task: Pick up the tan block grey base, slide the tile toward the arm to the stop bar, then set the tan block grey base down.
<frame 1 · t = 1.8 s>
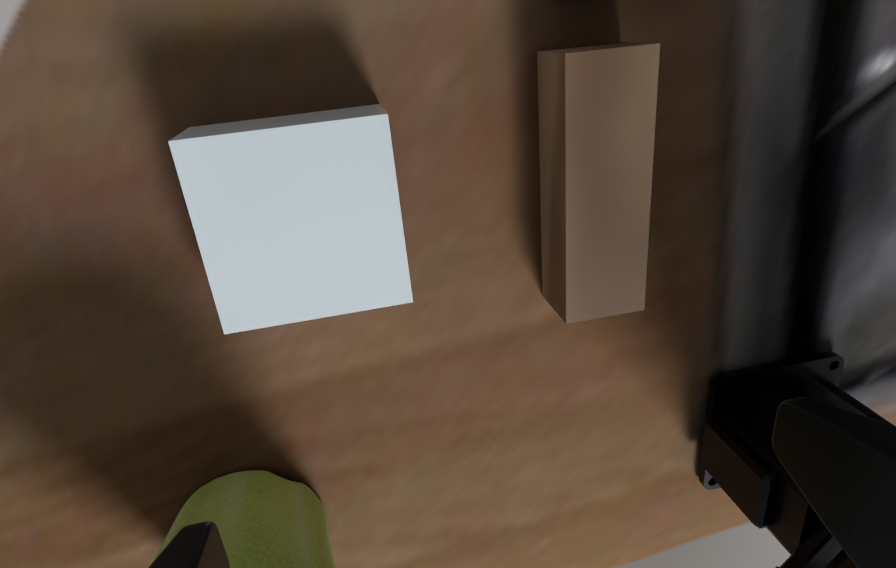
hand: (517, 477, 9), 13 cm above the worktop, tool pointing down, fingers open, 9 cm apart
stop bar: (578, 178, 21), on the worktop
plant pot: (253, 519, 25), on the worktop
tile: (305, 203, 20), on the worktop
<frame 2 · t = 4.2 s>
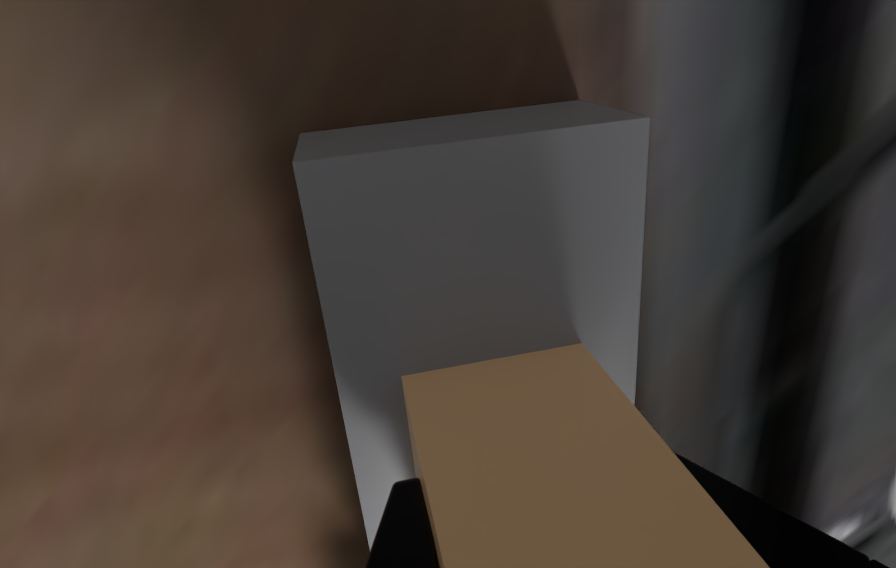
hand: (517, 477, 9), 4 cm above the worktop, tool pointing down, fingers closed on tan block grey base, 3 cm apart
tan block grey base: (466, 360, 12), on the worktop, touching gripper
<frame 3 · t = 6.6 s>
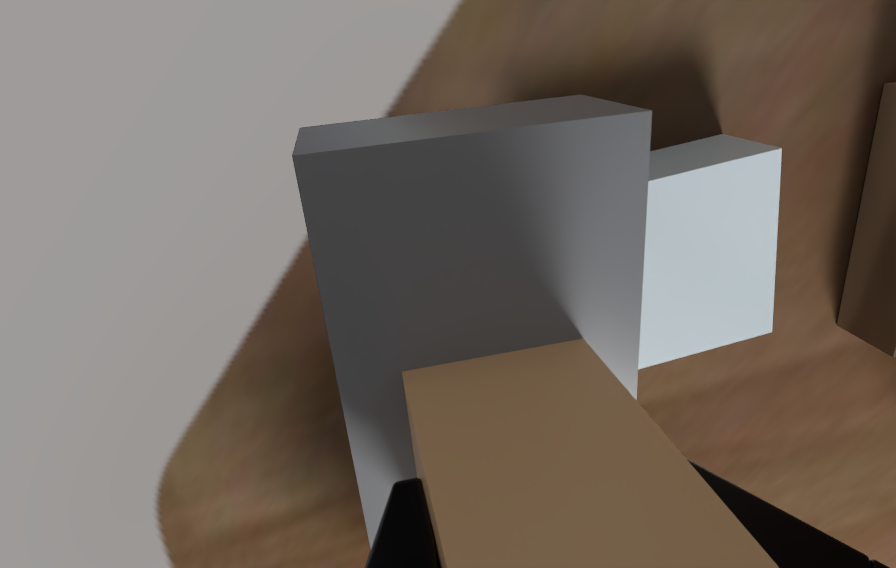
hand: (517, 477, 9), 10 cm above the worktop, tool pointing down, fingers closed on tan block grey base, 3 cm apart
stop bar: (895, 208, 21), on the worktop
tile: (635, 239, 20), on the worktop
tan block grey base: (467, 356, 12), point 7 cm above the worktop, touching gripper
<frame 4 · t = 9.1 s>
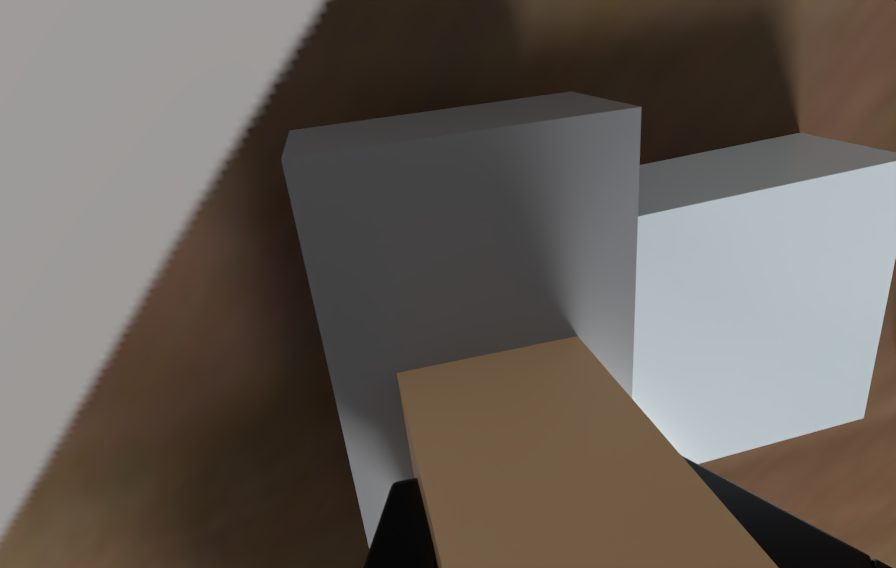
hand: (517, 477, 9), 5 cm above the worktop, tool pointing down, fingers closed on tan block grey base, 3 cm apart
tile: (671, 277, 14), on the worktop
tan block grey base: (462, 355, 12), point 1 cm above the worktop, touching gripper
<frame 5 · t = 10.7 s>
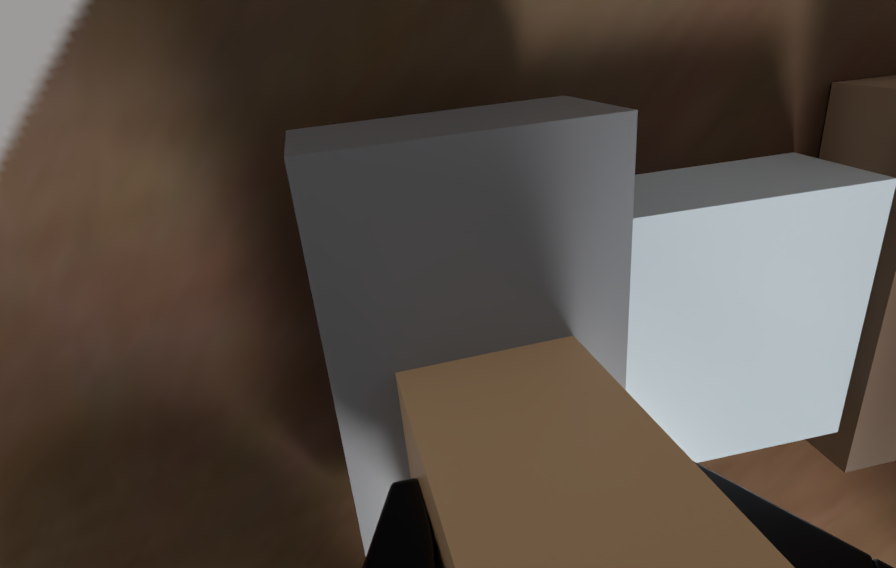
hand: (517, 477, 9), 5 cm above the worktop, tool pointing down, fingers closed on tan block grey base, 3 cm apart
stop bar: (851, 259, 15), on the worktop
tile: (658, 284, 14), on the worktop
tan block grey base: (455, 357, 12), point 1 cm above the worktop, touching gripper
when the fingers open (5 cm above the worktop, at t = 14.0 s): tan block grey base drops 2 cm, on the worktop.
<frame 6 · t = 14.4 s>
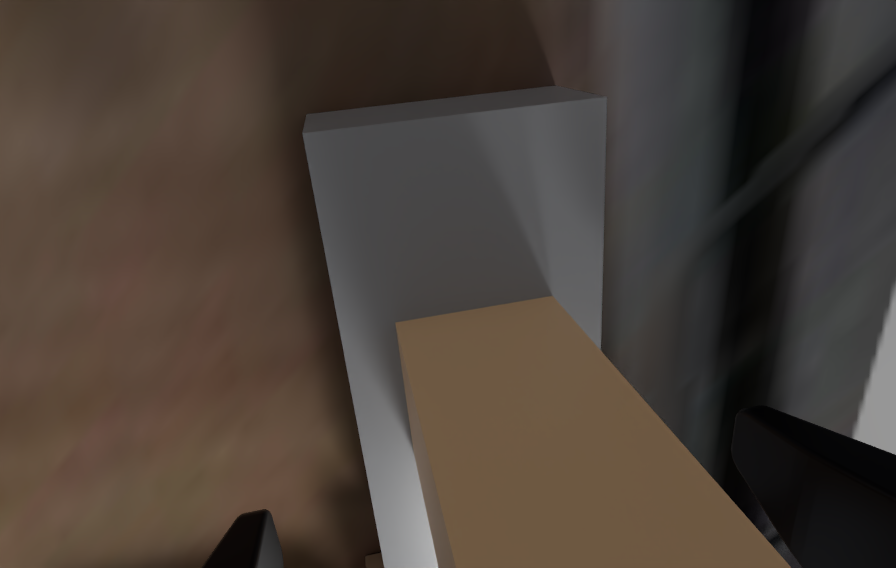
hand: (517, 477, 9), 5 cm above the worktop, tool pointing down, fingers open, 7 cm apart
tan block grey base: (454, 320, 14), on the worktop
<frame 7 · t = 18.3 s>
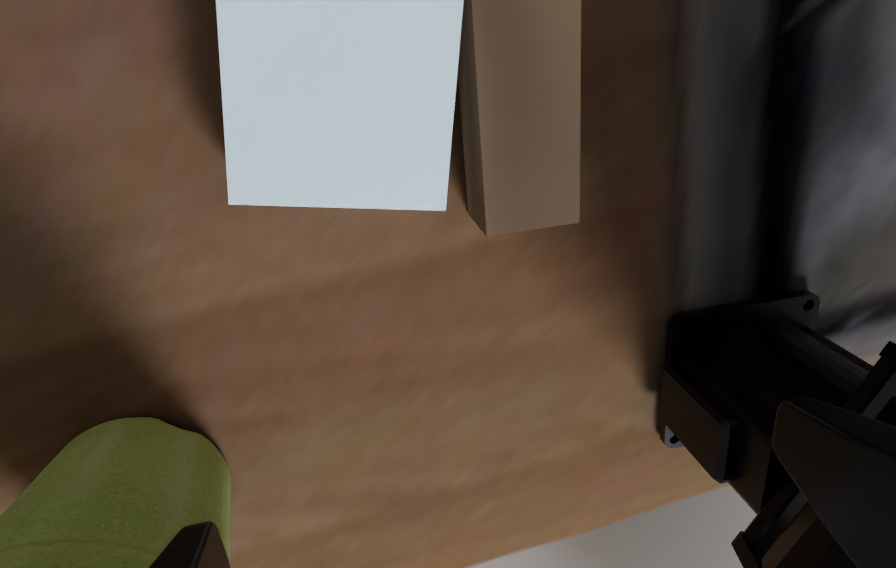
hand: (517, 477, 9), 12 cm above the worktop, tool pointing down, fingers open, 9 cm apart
stop bar: (504, 70, 18), on the worktop
plant pot: (146, 476, 22), on the worktop
tile: (340, 86, 18), on the worktop
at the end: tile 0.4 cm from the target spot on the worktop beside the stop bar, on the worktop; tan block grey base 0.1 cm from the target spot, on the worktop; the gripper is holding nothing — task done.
